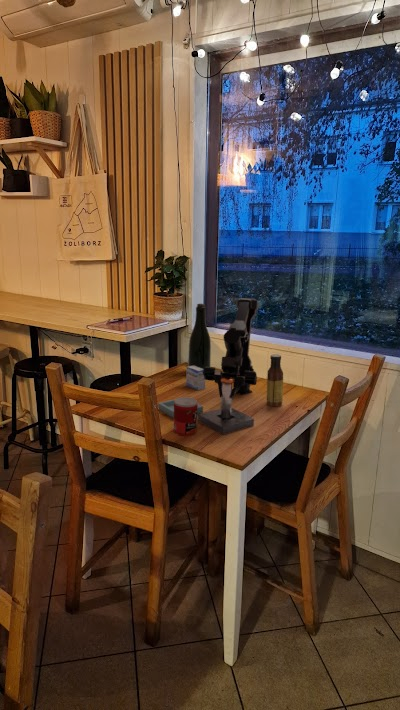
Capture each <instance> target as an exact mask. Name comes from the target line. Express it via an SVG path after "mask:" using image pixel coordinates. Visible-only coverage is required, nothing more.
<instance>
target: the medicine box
mask: <svg viewBox="0 0 400 710" xmlns="http://www.w3.org/2000/svg"><path fill="white" fill-rule="evenodd" d="M185 374H186V376H185V381H186V382H185V386H186V387H188V388H190V387H191V388H190V389H193V388H194V389H193V390H196V391H201V390H204V389H206V381H207V380H205V378H204V375H203V369H202V368H199V367H196V366H189V367H188V366H187V367H186V373H185Z"/></svg>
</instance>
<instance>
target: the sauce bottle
mask: <svg viewBox="0 0 400 710" xmlns="http://www.w3.org/2000/svg"><path fill="white" fill-rule="evenodd" d="M281 360H282V355H281V354H278V353H277V354H276V353H275V354H271V355H270V367H269V369H268V370H267V374H266V375H267V379H266V404H267V405H269V406H271V407H279V406H282V405H283V401H284V400H283V398H284V395H283V394H284V372H283V369H282V367H281V366H282V365H281Z"/></svg>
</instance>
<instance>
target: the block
mask: <svg viewBox="0 0 400 710" xmlns="http://www.w3.org/2000/svg"><path fill="white" fill-rule="evenodd" d="M197 422H199V423H201V424H203V425H205V426H206V427H207V428H209V429H211V430H214V431H216V432H217V433H219V434H221V435H226V434H229V433H233V432H236V431H240V430H242V429H247V428H250V427H254V425H255V418H253V417H252V416H249V415H248V414H245V413H243V412H241V411H240V410H236V409H235V408H232V407H231V418H222V417H221V407H220V408H217V409H213V410H210V411H209V410H208V411H205V412H203V413H200V414H197Z"/></svg>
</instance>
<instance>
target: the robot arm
mask: <svg viewBox="0 0 400 710" xmlns="http://www.w3.org/2000/svg"><path fill="white" fill-rule="evenodd" d="M236 309H237V311H236V314H235V319H234V321H233V322H232V323H231V324H230V325H229V328H228V330H226V332H225V333H224V334H223V343H224V347H225V349H226V350H225V351H226V353H225V356H222V357H221V368H220V369H221V370H216V367H214V366H210V367H205V368H204V369H203V375H204V378H205V380H206V381H212V382H213V381H214V383H216V384H217V386H218V393H219V394H218V395H219V398H222V382H221V377H233V378H234V383H232V393H231V399H232V400H233V398H234V397H235V395H236V394H238V395H240V396H241V395H246V394H249V393H253V391H252V390H251V388H250V386H252V385H253V386H256V385H257V384H258V383H257V381H258V375H257V372H256V371H255V369H254V367H253V365H252V363H253V362H252V359H251V357H250V355H249V352H250V344H251V342H250V341H251V332H252V331H251V330H252V321H253V319H254V318H255V316H256V315H257V311H258V310H259V301H258V300H257V299H256V298H248V297H240V298H237V299H236Z"/></svg>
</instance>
